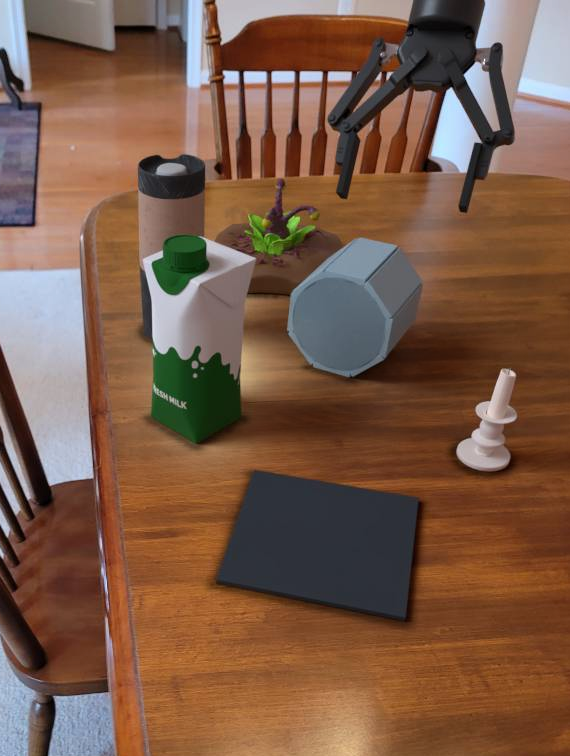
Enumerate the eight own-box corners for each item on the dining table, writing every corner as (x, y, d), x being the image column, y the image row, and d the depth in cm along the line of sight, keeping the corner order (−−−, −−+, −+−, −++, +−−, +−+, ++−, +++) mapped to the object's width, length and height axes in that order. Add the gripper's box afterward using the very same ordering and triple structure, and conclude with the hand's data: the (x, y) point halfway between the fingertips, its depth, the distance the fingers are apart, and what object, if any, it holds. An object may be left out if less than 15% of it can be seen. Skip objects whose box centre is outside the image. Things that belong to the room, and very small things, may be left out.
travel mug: (173, 351, 101) (174, 181, 87) (128, 330, 105) (122, 165, 91) (214, 328, 105) (220, 163, 92) (169, 309, 109) (169, 147, 95)
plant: (347, 241, 124) (358, 163, 117) (345, 301, 110) (357, 217, 103) (214, 233, 127) (217, 155, 119) (195, 290, 113) (196, 207, 105)
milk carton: (138, 417, 91) (132, 236, 77) (196, 386, 95) (200, 210, 82) (196, 451, 86) (201, 265, 72) (254, 416, 91) (269, 235, 77)
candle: (494, 438, 87) (522, 350, 80) (518, 468, 83) (550, 378, 76) (447, 444, 87) (471, 355, 80) (469, 474, 83) (496, 384, 76)
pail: (318, 323, 106) (330, 230, 98) (409, 348, 101) (430, 252, 93) (284, 358, 99) (293, 262, 91) (380, 386, 95) (399, 287, 87)
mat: (417, 501, 80) (418, 497, 79) (404, 621, 69) (406, 617, 68) (253, 473, 83) (254, 469, 83) (215, 583, 72) (215, 579, 72)
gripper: (330, -24, 90) (286, 181, 95) (577, -20, 81) (516, 206, 86) (344, 9, 97) (302, 199, 101) (573, 16, 88) (517, 223, 92)
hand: (400, 203), depth 93 cm, fingers open, 13 cm apart
